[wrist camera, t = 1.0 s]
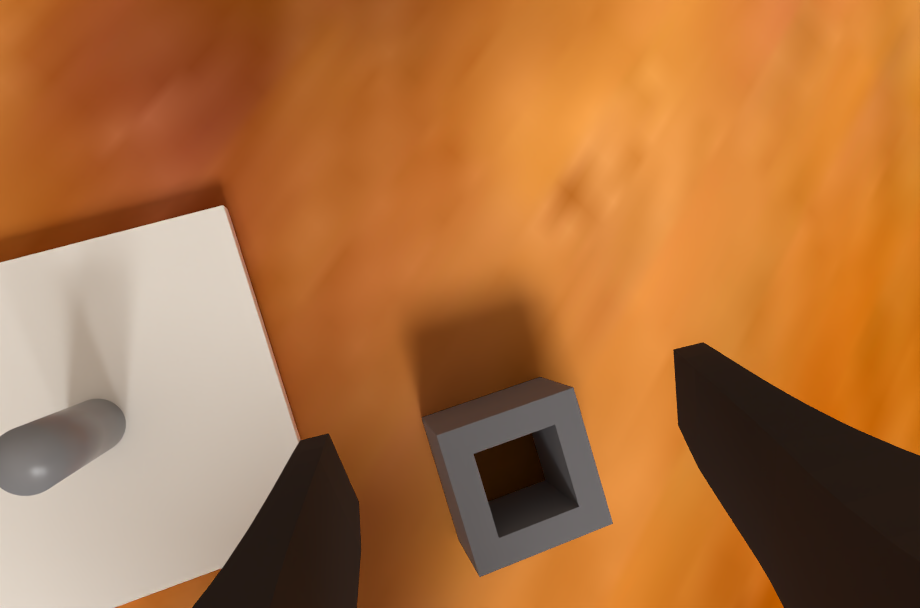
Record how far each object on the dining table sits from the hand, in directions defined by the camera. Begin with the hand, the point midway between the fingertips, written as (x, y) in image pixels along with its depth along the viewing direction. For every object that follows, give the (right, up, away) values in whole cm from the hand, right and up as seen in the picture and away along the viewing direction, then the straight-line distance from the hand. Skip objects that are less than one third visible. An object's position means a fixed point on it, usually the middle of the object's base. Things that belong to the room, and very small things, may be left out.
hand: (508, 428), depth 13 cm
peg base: (-13, -1, +9) cm, 16 cm away
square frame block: (+1, -3, +12) cm, 13 cm away
